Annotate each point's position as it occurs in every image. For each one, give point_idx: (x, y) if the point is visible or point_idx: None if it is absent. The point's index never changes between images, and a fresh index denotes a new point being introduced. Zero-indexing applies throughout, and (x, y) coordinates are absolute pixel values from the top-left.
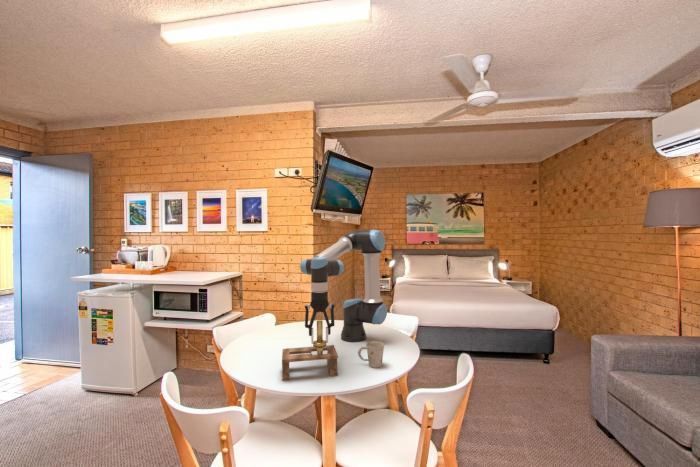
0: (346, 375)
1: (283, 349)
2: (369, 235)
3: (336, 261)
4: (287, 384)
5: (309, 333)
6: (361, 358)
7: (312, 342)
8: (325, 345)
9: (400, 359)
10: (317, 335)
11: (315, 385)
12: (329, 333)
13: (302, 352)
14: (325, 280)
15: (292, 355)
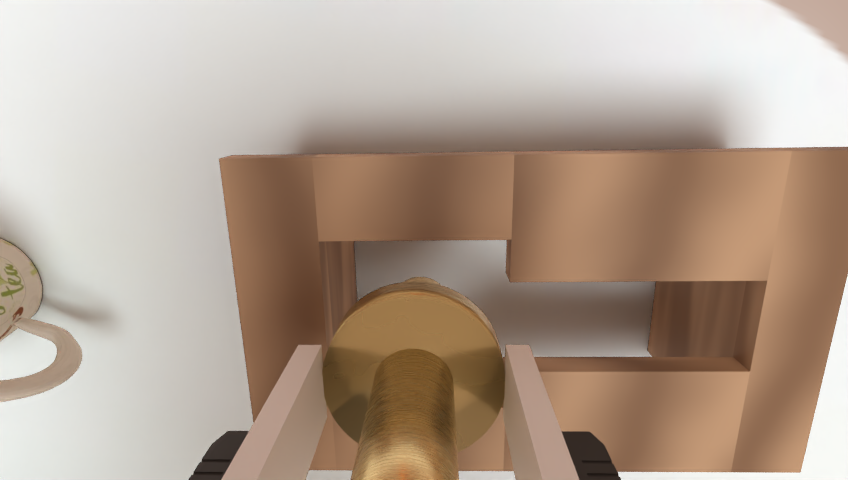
0: (225, 142)
1: (795, 453)
2: None
3: None
4: (697, 68)
5: (605, 463)
6: (68, 341)
7: (522, 354)
8: (343, 318)
9: None
10: (448, 431)
11: (482, 2)
12: (230, 444)
13: (599, 363)
14: None
15: (733, 263)
